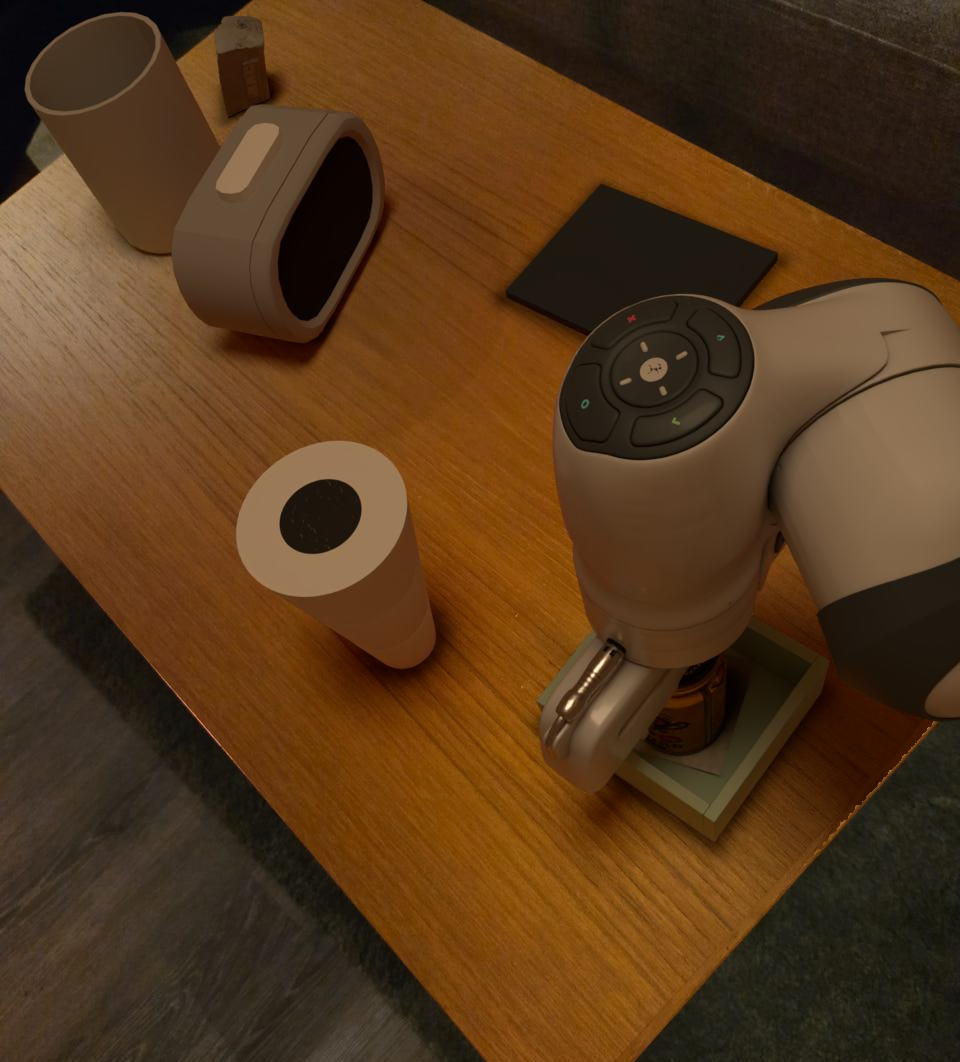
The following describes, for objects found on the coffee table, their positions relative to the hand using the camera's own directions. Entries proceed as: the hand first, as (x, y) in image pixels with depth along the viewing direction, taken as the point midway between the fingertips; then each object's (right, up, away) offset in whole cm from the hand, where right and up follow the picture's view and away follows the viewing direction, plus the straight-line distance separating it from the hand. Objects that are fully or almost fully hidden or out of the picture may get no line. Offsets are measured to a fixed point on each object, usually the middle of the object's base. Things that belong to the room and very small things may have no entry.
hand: (674, 679), depth 62 cm
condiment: (+2, -2, +5) cm, 6 cm away
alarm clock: (-28, +36, +30) cm, 55 cm away
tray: (+2, -2, +6) cm, 6 cm away
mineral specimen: (-36, +60, +43) cm, 83 cm away
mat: (+1, +33, +22) cm, 40 cm away
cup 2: (-18, +2, +13) cm, 22 cm away
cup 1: (-44, +48, +40) cm, 76 cm away
